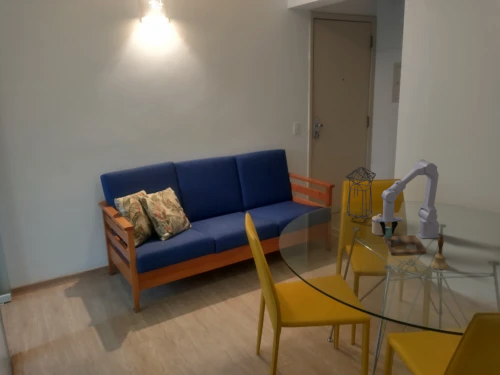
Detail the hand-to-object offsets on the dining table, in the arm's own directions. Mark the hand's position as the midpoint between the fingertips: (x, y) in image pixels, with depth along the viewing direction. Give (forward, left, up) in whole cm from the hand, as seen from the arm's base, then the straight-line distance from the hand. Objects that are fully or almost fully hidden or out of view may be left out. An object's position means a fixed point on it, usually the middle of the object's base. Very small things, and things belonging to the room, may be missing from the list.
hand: (388, 234), depth 240 cm
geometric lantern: (+9, -34, -5) cm, 36 cm away
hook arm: (-2, +9, -5) cm, 10 cm away
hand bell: (-18, +29, -5) cm, 34 cm away
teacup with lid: (+1, -14, -5) cm, 15 cm away
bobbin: (0, 0, -2) cm, 2 cm away
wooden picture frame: (-7, +6, -5) cm, 10 cm away
